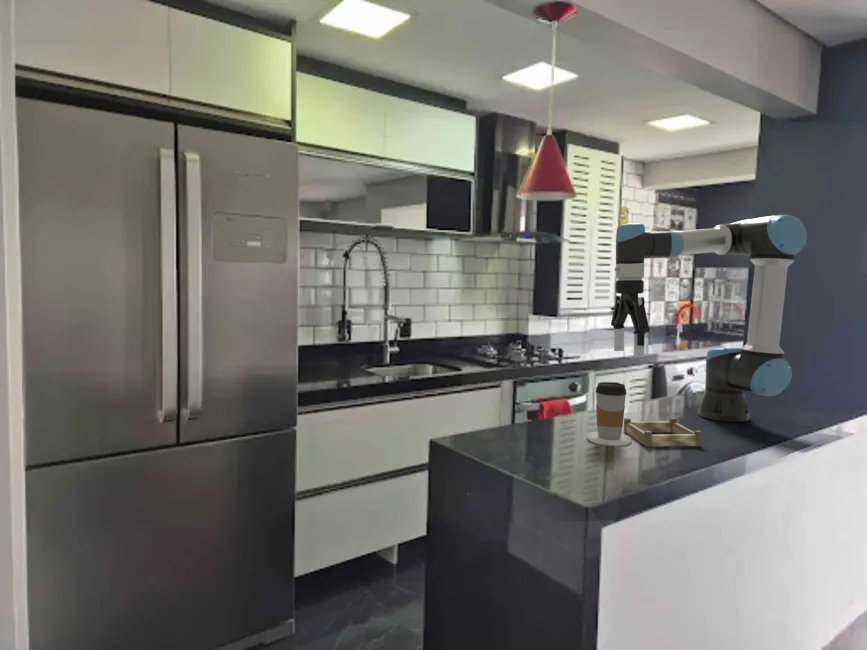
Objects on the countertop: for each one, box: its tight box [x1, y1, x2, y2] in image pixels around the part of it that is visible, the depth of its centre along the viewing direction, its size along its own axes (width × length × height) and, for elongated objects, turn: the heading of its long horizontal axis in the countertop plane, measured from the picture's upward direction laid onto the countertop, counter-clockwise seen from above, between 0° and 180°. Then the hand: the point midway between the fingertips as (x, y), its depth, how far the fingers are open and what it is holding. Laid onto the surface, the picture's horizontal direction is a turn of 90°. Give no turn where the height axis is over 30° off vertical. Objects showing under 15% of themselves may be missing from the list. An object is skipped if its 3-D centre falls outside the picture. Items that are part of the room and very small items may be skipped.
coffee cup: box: [595, 381, 627, 440], centre depth 159 cm, size 8×8×15 cm
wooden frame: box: [623, 417, 703, 448], centre depth 162 cm, size 15×15×4 cm
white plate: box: [586, 431, 633, 447], centre depth 160 cm, size 12×12×1 cm
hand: (628, 354), depth 162 cm, fingers open, 13 cm apart
